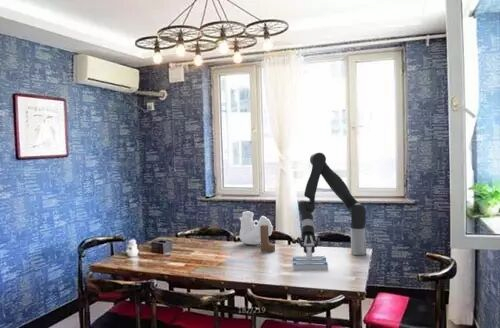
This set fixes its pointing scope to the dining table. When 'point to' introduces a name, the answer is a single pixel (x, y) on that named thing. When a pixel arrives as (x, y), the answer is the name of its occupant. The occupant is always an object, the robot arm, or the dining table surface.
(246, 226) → the decorative rooster
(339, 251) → the dining table surface
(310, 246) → the cord plug
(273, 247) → the wooden block
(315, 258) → the duct
